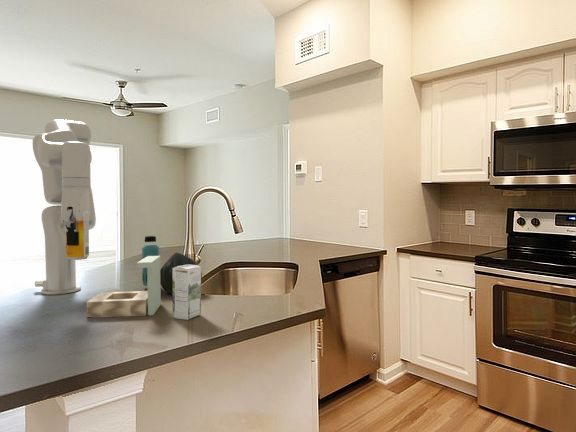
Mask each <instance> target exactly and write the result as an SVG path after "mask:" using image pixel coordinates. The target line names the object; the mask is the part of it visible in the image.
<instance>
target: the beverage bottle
mask: <svg viewBox="0 0 576 432" xmlns="http://www.w3.org/2000/svg"><path fill="white" fill-rule="evenodd" d="M144 242H145V243H154V242H157V237H156V235H155V236H154V235H147V236H144ZM141 253H142V255H141V260H142V259H144V258H145V257H147V256H160V246H158V245H157V244H145V245H143V246H142V248H141ZM141 270H142V273H141V274H142V275H141V276H142V277H141V280H142V285H143V286H144V287H148V285H147V268H141Z"/></svg>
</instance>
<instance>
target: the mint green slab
mask: <svg viewBox="0 0 576 432" xmlns="http://www.w3.org/2000/svg"><path fill="white" fill-rule="evenodd" d="M161 259H162V255H159V256H147V257H145V258H144V259H142V258H141V260H139V261H137V262H136V269H137V268H138V269H140V268H141V269H143V268H147V285H148V286H147V291H148V313H147V315H148V316H154V314H155V313H156V312H157V311H158V309H159V307H160V306H161V305H162V301H161V300H162V296H161V295H162V292H161V288H162V286H161V284H160V270H161V261H162V260H161Z"/></svg>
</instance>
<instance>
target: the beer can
mask: <svg viewBox="0 0 576 432" xmlns="http://www.w3.org/2000/svg"><path fill="white" fill-rule="evenodd" d="M71 221H76V220H75V219H71ZM74 226H75V224H74ZM77 232H79V245H77V246H68V245H67V233H66V257H67V258H68V259H69V260H75V261H79V260H80V261H81V260H87V259H88V257H89V256H90V236H89V235H90V230H89V216H88V211H87V209H84V211H83V213H82V219H81V221H80V222H78V230H77Z"/></svg>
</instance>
